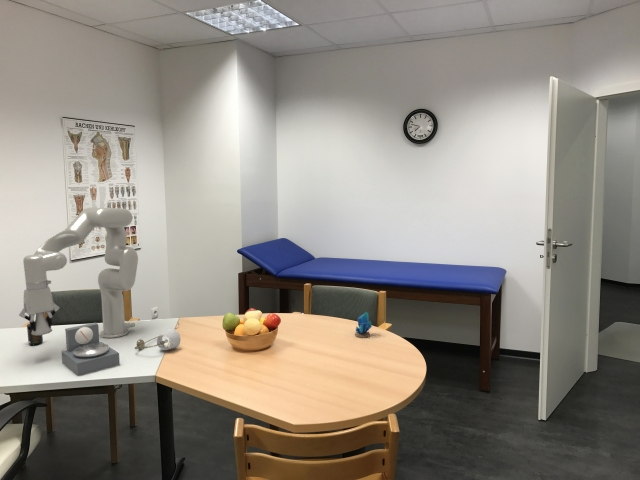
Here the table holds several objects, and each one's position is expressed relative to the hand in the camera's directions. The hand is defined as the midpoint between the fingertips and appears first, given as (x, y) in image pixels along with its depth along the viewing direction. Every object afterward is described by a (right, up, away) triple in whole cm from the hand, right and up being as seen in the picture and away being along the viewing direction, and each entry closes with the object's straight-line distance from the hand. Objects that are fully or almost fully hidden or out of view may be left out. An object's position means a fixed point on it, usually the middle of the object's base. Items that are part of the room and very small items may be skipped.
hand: (41, 328), depth 208 cm
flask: (0, -2, 0) cm, 2 cm away
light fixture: (+46, -11, +25) cm, 54 cm away
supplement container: (-14, -11, +21) cm, 28 cm away
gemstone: (+134, -9, +33) cm, 138 cm away
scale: (+21, -14, -2) cm, 25 cm away
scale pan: (+22, -9, -4) cm, 24 cm away
